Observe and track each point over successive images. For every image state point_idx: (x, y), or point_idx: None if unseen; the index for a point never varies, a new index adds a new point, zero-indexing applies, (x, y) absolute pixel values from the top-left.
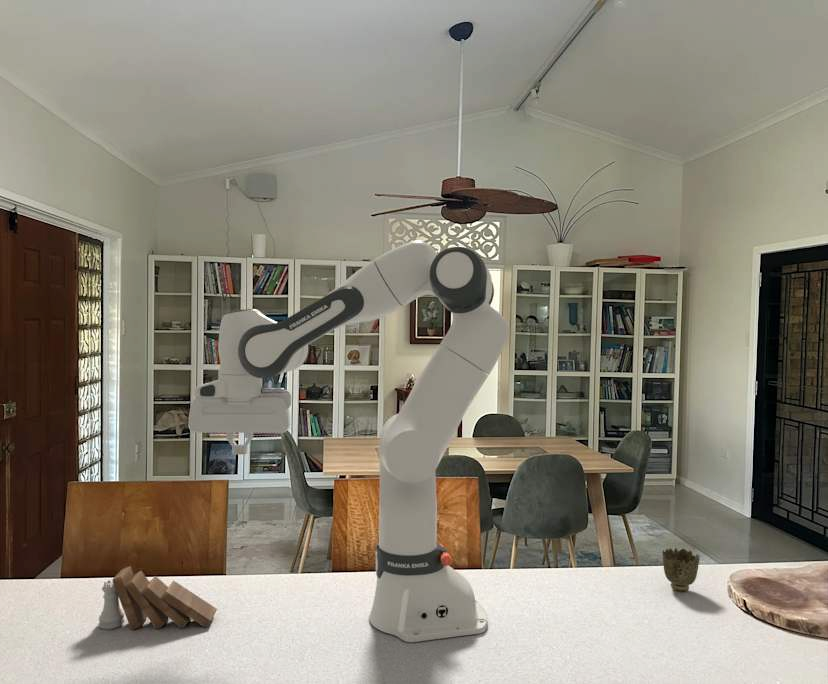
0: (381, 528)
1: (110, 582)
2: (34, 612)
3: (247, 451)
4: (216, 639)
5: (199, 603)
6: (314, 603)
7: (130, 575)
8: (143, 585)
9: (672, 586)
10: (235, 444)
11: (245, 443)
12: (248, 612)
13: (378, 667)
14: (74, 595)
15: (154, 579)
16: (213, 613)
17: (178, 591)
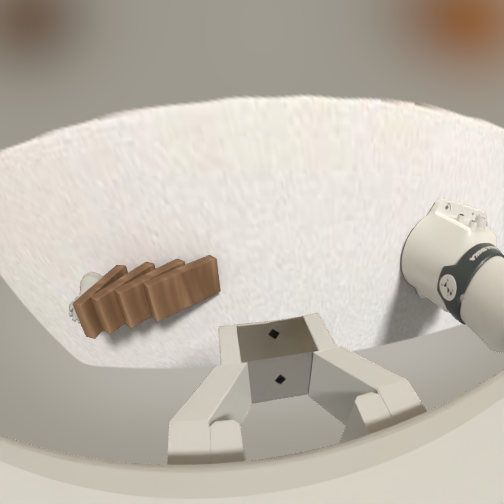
0: (477, 326)
1: (72, 308)
2: (7, 257)
3: (319, 317)
4: (235, 309)
5: (196, 282)
6: (346, 211)
7: (90, 308)
8: (116, 309)
9: None
10: (247, 392)
11: (329, 407)
12: (258, 242)
13: (388, 333)
14: (11, 209)
15: (124, 302)
16: (216, 274)
17: (166, 298)
